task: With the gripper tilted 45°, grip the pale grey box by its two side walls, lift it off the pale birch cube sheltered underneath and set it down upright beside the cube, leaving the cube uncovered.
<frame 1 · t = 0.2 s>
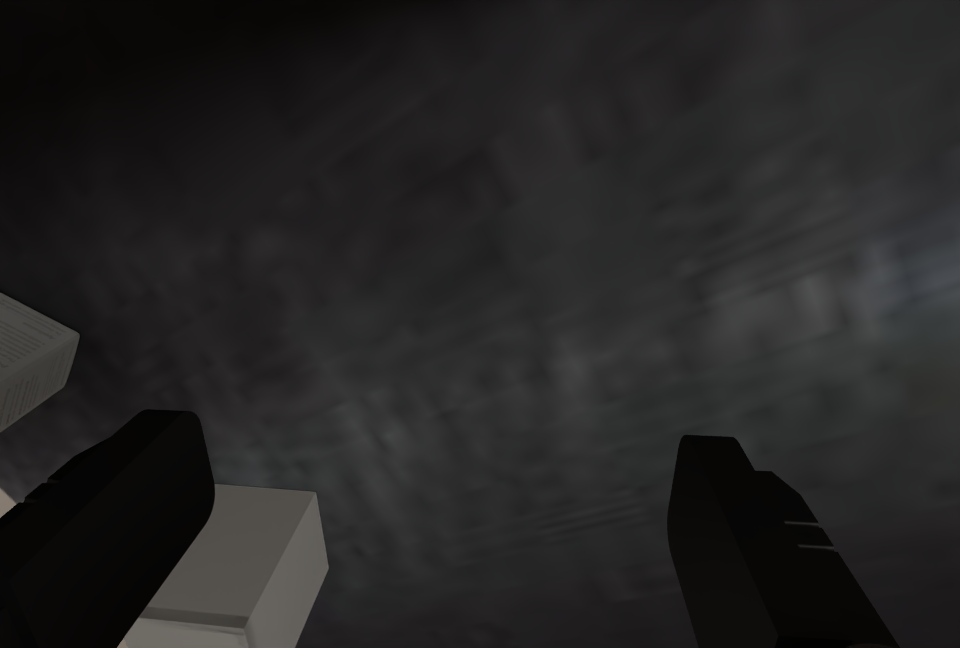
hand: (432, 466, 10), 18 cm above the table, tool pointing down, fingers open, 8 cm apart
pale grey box: (273, 527, 36), on the table
skincare box: (31, 330, 32), on the table
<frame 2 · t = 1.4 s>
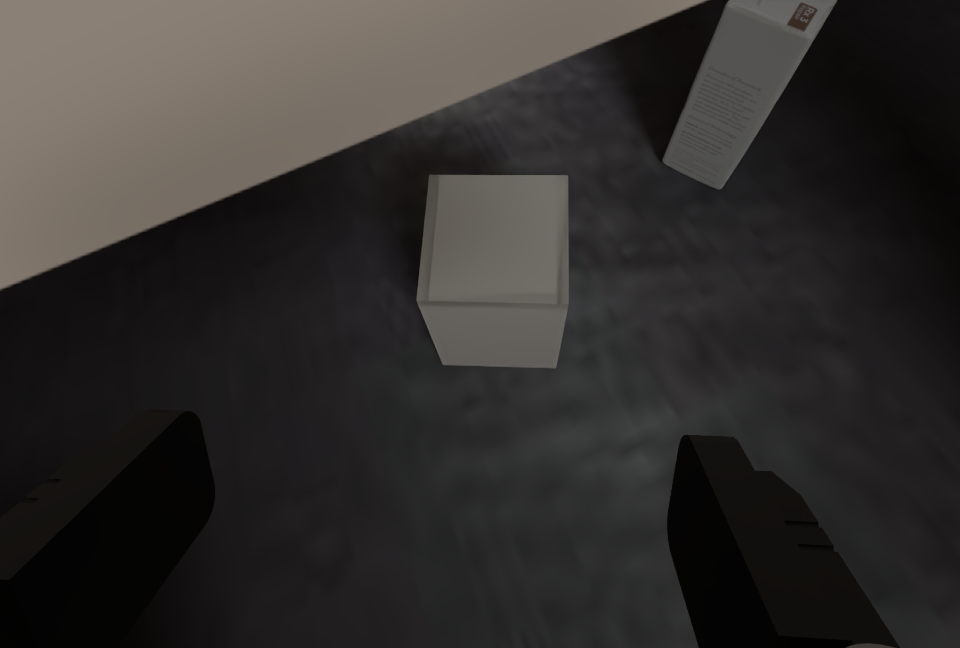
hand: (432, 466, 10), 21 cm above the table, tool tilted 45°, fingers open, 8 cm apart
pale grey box: (501, 314, 34), on the table
skincare box: (710, 150, 37), on the table
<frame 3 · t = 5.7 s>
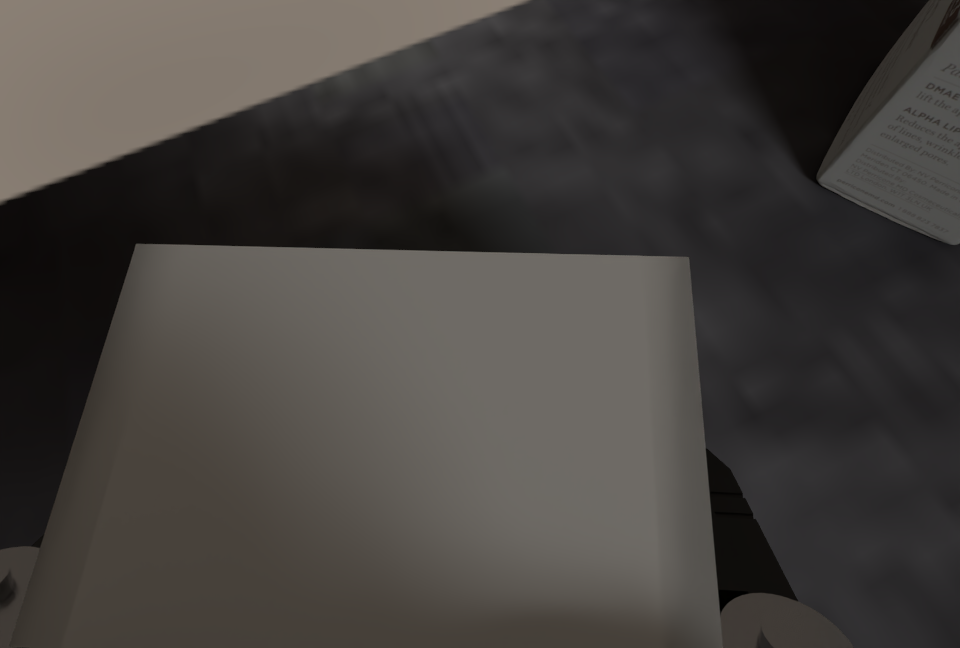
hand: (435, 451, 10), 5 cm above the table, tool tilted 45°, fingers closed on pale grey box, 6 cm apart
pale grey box: (455, 552, 14), on the table, touching gripper
skincare box: (913, 157, 17), on the table
when the fingers open (6 cm above the table, at t = 11.2 s): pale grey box stays where it is, on the table.
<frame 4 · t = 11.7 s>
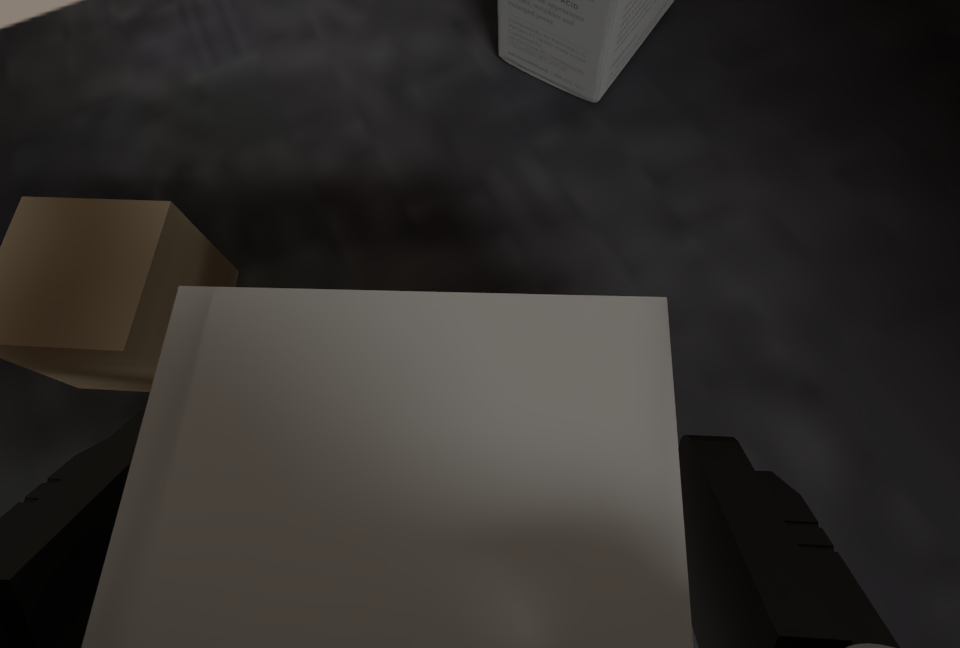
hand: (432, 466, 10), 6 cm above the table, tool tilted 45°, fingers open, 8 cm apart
cube: (121, 302, 16), on the table
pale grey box: (459, 554, 15), on the table
skincare box: (588, 40, 21), on the table
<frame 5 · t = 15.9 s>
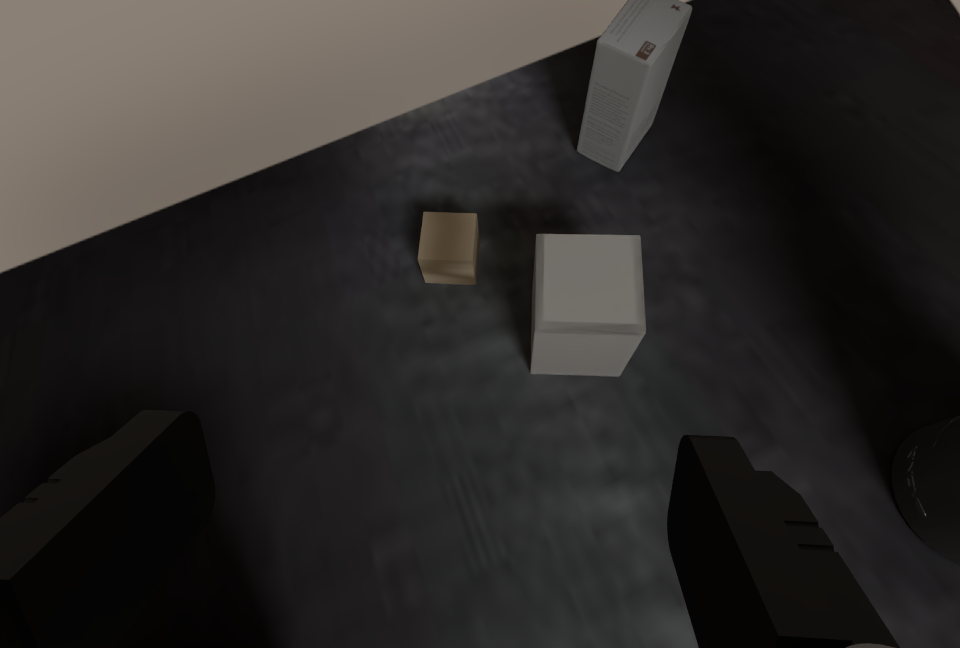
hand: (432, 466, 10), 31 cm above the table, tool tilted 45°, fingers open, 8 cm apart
cube: (450, 249, 44), on the table
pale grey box: (574, 333, 43), on the table
skincare box: (614, 143, 49), on the table
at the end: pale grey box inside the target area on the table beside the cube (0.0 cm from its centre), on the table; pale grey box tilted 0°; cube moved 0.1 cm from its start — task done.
